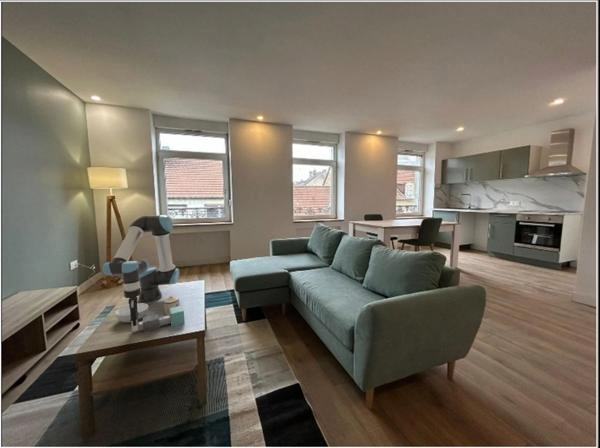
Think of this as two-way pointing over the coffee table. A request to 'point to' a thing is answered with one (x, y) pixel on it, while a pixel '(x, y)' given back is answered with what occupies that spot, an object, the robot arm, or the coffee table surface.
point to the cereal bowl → (124, 312)
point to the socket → (177, 316)
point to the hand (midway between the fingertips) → (135, 328)
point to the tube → (162, 321)
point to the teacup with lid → (170, 304)
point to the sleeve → (151, 323)
